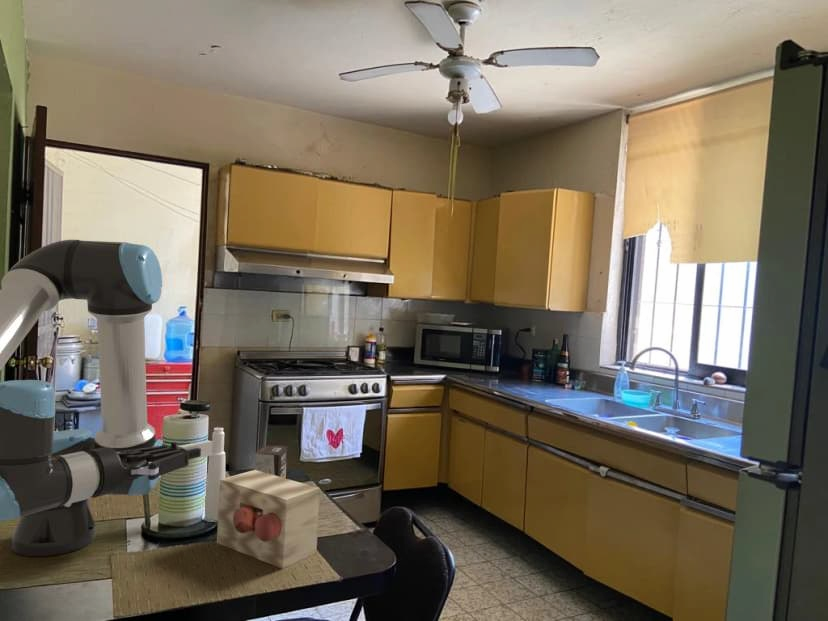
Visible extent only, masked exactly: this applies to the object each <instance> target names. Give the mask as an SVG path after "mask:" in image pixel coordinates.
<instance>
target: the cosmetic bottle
mask: <svg viewBox="0 0 828 621" xmlns="http://www.w3.org/2000/svg"><path fill="white" fill-rule="evenodd" d="M211 437H212V438H211V441H212V455H211V456H208V465H207V476H206V486H205V493H206V496H205V495H204V501H205V514H206V517H207V518H211V519H214V520H217V521H218V510H219V491H220V479H223V478H226V452H225V451H224V450H225V449H224V448H225V447H224V446H225V432H224V427H214V428H213V432H212V435H211Z"/></svg>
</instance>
